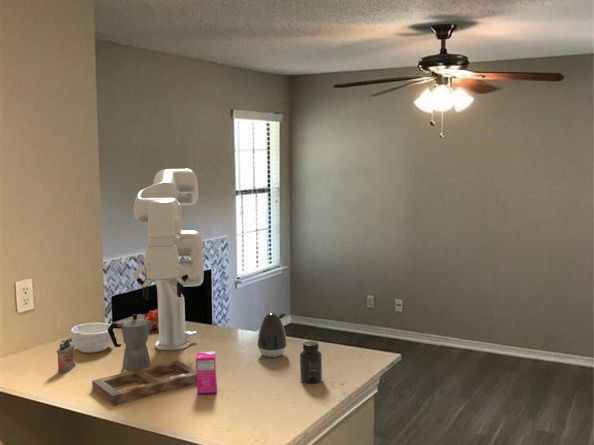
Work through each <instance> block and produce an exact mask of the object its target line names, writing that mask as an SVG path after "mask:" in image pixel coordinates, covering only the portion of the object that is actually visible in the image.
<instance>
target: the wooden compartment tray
mask: <svg viewBox="0 0 594 445" xmlns="http://www.w3.org/2000/svg"><path fill="white" fill-rule="evenodd" d="M170 374H176V375H173V376H169V377H168V378H164V379H161V380H160V379H159V377H162V376H166V375H170ZM135 383H136V384H137V385H134V386H129V387H127V388H125V389H121V390H117V388H118V387H119V388H120V387H123V386H127V385H131V384H135ZM196 383H197V371H196V369H195V368H193V367H191V366H189V365H187V364H186V363H184V362H182V361H180V360H178V359H175V360H173V361H168V362H163V363H159V364H156V365H152V366H151V365H150V366H149V367H147V368H142V369H138V370H134V371H126V372H122V373H117V374H115V375H109V376H105V377H102V378H97V379H92V380H91V386H92V389H91V390H92V391H93V392H94V393H95V394H97V395H98V396H100V397H101V398H102V399H103V400H105V401H106V402H107V403H109V404H110V405H111V406H113V407H115V406H118V405H122V404H126V403H130V402H133V401H137V400H141V399H146V398H149V397H152V395H153V396H156V395H159V394H163V393H168V392H171V391H174V390H179V389H182V388H186V387H189V385H190V386H192V385H193V384H194V385H197V384H196Z"/></svg>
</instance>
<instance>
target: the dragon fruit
mask: <svg viewBox="0 0 594 445" xmlns="http://www.w3.org/2000/svg"><path fill="white" fill-rule="evenodd" d="M143 319H144V320H149V321H154V322H155V324H154V325H153V326H152V328H151V330H154V329H157V331H159V320H158V308H154V310H149V311H148V312H146V313H145V314H144V318H143ZM151 330H150V331H151Z"/></svg>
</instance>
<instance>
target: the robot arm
mask: <svg viewBox="0 0 594 445" xmlns="http://www.w3.org/2000/svg"><path fill="white" fill-rule="evenodd" d="M198 183H199V182H198V178H197V175H196V172H194V171H193V170H192V169H189V168H166V169H160V170H159V171H158V172H157V173H156V174H155V176H154V179H153V184H151V185H150V186H148V187H145V188H144V189H141V190H139V191H138V193H137V195H136V197H135V200H134V204H133V216H134V218H135V219H136V221H138V222H139V223H147V229H148V245H147V246H145V252H144V263H143V264H144V265H143V266H142V267H140V268H138V269H137V270H135V271H133V272H132V275H133V277H134V279H135V280H136V282H137V283H138V284H139V285H141V286H142V298H144V299H145V301H149V300H150V294H149V293H150V290H149V284H150V282H151V281H155V285H156V290H157V291H156V292H157V310H158V320H159V329H158V340H156V342H154V347H155V348H156V349H158V350H161V351H179V350H183V349H186V348H188V347H189V346H190V344H191V342H190V339H191V338H196V337H198V333H197V332H198V331H192V332H191V331H190V330H189V331H186V314H185V313H186V312H185V311H186V310H185V304H186V303H185V296H184V295H183V294H184V287H198V286H201V285H202V284H203V282H204V276H205V275H204V274H205V272H204V269H205V268H204V246H203V245H204V244H203V238H202V237H203V236H202V235H201V233H200V232H199V231H197V230H183V228H182V222H183V220H182V217H181V216H182V211H183V209H182V206H193V205H195V204H197V202H198V200H199V195H200V194H199V184H198ZM182 257H183V258H185V257H187V258H190V259H189V260H183V259H181V260H180V258H182ZM142 273H144V279H142V278H141V277H140V275H141V274H142Z"/></svg>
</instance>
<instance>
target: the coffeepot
mask: <svg viewBox="0 0 594 445" xmlns="http://www.w3.org/2000/svg"><path fill="white" fill-rule="evenodd" d="M131 316H132V319H128V320H124V321H123V322H119V321H118V322H112V323H111V325H110V326H109V328H108V333H109V335H110V337H111V340H112V342H111V343H112V344H113V347H114V348H120V347H121V346H122V344H121V343H117V342H118V340H117V337H116V334H115V329H119V330H121V334H122V338H123V339H122V340H123V343H124V344H125V348H124V352H123V359H122V360H123V361H122V365H121V366H122V368H123V370H125V371H127V372H130V371H134V370H138V369H142V368H147V367H151V359H150V354H149V349H148V346H147V342H148V339H149V333H150V331H151V328H152V326H153V325H154V324H155V322H154V321H149V320H144V318H143V319H142V318H138V314H137V313H133V314H132V315H131ZM113 329H114V331H113Z"/></svg>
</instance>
